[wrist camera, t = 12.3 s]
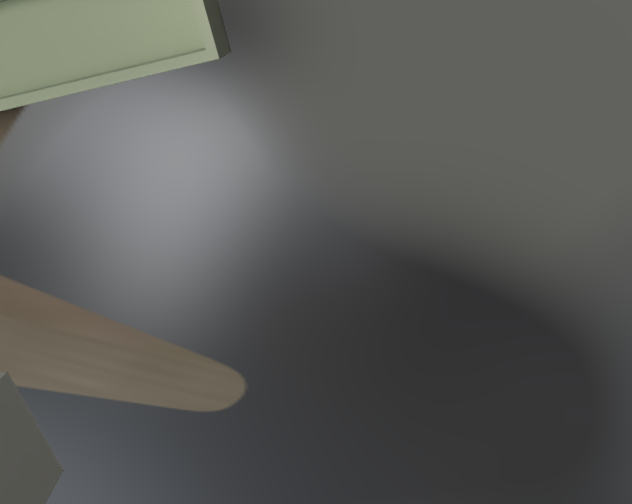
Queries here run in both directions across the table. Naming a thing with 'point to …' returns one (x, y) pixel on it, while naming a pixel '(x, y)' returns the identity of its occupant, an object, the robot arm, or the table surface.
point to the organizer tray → (100, 43)
